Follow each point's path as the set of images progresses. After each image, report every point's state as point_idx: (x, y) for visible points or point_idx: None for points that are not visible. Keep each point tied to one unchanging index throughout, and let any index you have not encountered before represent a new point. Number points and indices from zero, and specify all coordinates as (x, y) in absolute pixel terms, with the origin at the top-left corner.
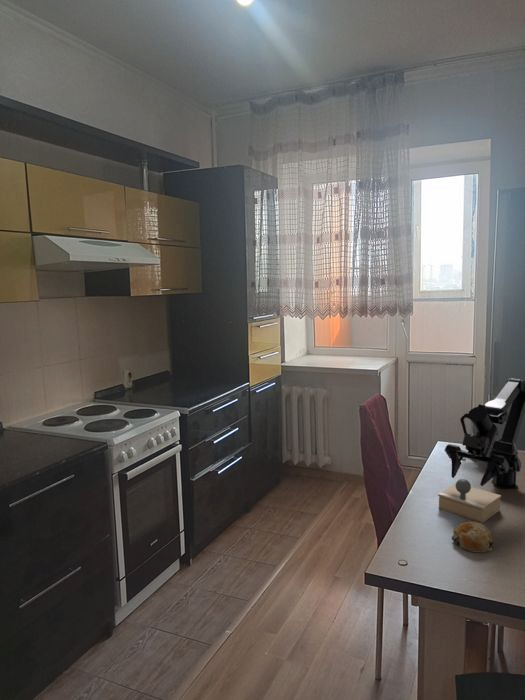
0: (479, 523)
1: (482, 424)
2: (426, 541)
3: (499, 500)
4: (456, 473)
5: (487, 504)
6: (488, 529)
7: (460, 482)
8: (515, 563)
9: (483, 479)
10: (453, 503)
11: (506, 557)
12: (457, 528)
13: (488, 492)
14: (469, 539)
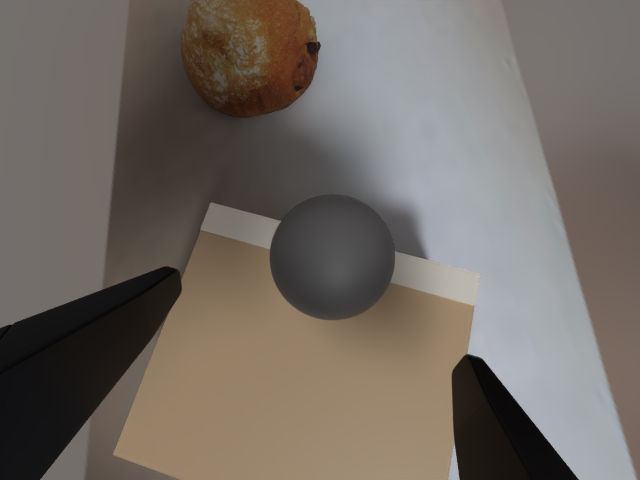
0: (213, 20)
1: None
2: (390, 23)
3: None
4: (458, 466)
5: (193, 259)
6: (184, 32)
7: (350, 203)
8: (137, 26)
9: (116, 292)
10: None
11: (159, 43)
12: (299, 7)
13: (193, 470)
14: None
